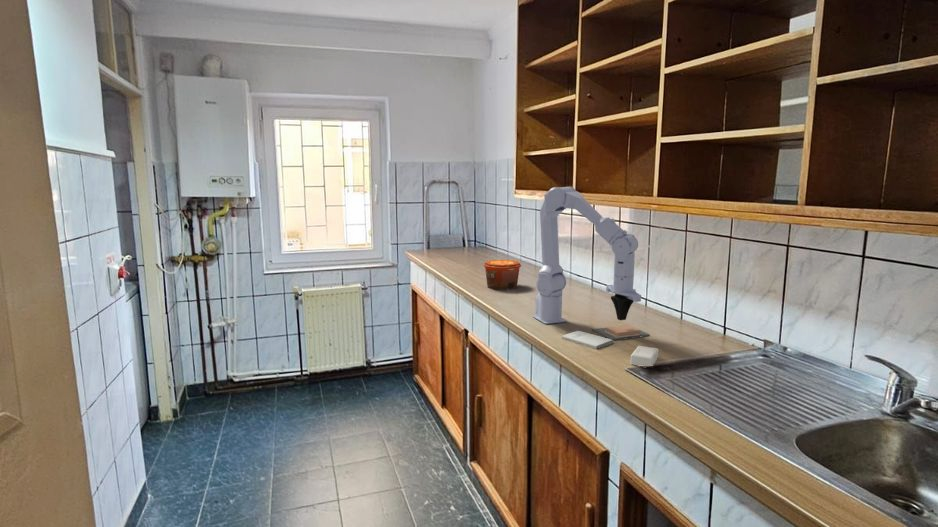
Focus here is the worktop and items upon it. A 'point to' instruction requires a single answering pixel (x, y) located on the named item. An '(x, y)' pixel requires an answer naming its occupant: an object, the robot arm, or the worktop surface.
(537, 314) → the robot arm
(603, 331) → the mat
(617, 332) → the tile
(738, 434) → the worktop surface
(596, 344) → the external hard drive
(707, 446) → the worktop surface
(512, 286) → the food container
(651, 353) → the soap
